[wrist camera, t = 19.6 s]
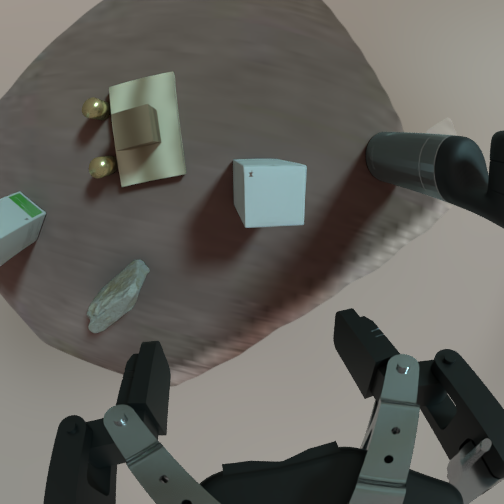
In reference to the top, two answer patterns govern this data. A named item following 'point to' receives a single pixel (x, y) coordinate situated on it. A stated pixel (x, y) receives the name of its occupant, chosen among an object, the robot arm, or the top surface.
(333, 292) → the top surface
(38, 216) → the skincare box
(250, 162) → the supplement box
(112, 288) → the stone
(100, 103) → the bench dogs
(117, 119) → the walnut block
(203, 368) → the top surface
